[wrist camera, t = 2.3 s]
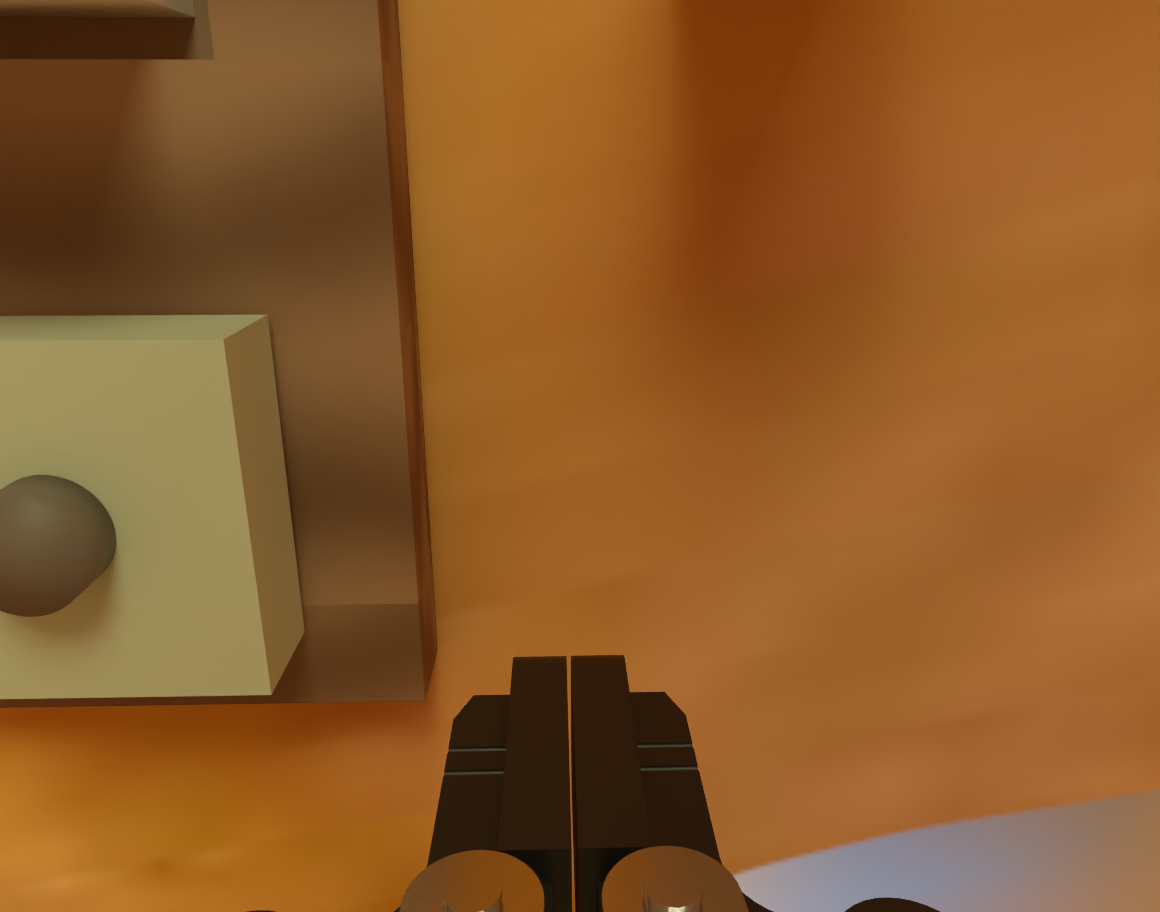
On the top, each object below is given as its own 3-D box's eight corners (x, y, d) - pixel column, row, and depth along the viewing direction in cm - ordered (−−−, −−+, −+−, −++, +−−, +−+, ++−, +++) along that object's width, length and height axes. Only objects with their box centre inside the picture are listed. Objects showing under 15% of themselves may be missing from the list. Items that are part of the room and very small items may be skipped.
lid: (-100, 316, 18) (-259, 356, 15) (267, 314, 19) (198, 353, 15) (-18, 636, 21) (-138, 737, 17) (304, 631, 21) (253, 730, 17)
